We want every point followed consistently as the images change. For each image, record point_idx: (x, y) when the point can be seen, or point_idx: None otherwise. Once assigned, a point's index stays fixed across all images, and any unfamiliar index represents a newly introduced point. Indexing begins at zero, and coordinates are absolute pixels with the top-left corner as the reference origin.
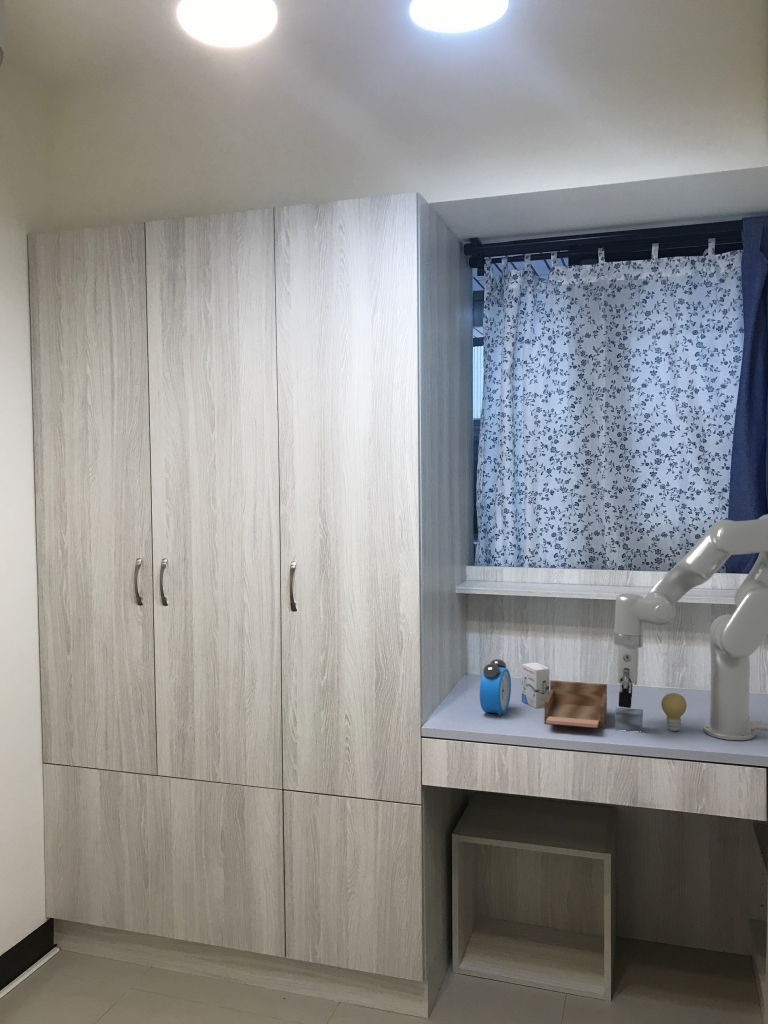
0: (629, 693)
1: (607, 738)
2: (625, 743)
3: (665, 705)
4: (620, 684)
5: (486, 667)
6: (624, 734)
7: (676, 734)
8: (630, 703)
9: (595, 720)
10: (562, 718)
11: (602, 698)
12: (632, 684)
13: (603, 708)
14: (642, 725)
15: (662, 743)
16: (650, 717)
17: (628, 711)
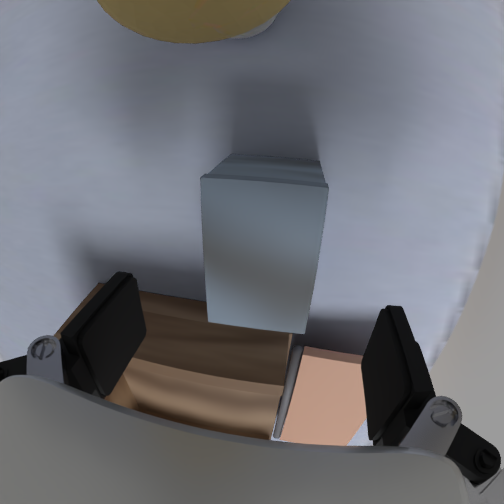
0: (420, 399)
1: (410, 307)
2: (466, 253)
3: (274, 5)
4: (107, 392)
5: None
6: (361, 246)
7: (314, 3)
8: (407, 328)
9: (308, 364)
10: (302, 426)
11: (140, 367)
12: (73, 336)
13: (284, 380)
14: (320, 169)
15: (465, 101)
16: (79, 125)
17: (276, 271)
